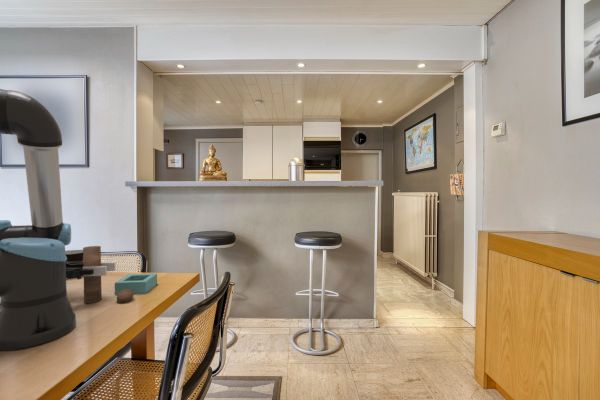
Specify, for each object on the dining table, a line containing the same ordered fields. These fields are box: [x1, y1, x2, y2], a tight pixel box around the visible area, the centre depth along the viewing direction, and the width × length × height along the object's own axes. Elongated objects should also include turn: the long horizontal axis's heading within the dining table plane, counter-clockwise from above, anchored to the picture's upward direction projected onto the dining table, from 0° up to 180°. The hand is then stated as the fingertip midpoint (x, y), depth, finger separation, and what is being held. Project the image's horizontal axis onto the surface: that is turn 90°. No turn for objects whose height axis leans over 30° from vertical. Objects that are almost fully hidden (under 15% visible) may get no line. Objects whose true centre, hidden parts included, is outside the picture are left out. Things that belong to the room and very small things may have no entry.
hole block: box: [114, 273, 158, 296], centre depth 101 cm, size 10×10×4 cm
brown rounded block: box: [116, 289, 134, 304], centre depth 90 cm, size 4×4×3 cm
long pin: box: [82, 245, 103, 304], centre depth 90 cm, size 4×4×17 cm
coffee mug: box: [65, 249, 84, 279], centre depth 115 cm, size 12×9×10 cm
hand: (110, 268), depth 90 cm, fingers closed on long pin, 4 cm apart
